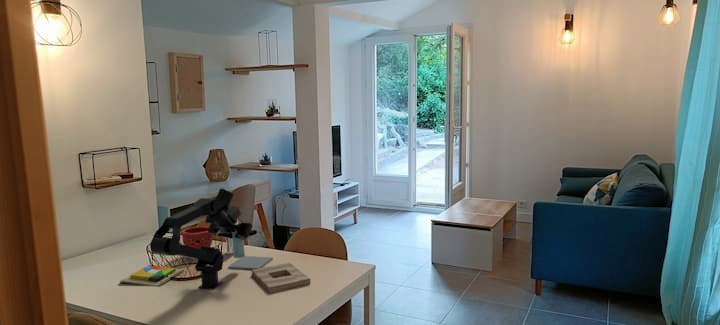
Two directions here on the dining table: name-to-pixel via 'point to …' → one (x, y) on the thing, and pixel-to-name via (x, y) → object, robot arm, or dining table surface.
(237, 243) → the pale teal peg
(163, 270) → the wooden puzzle
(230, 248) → the white can
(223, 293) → the dining table surface
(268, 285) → the walnut puzzle board
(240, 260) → the slate tile
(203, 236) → the plant pot
